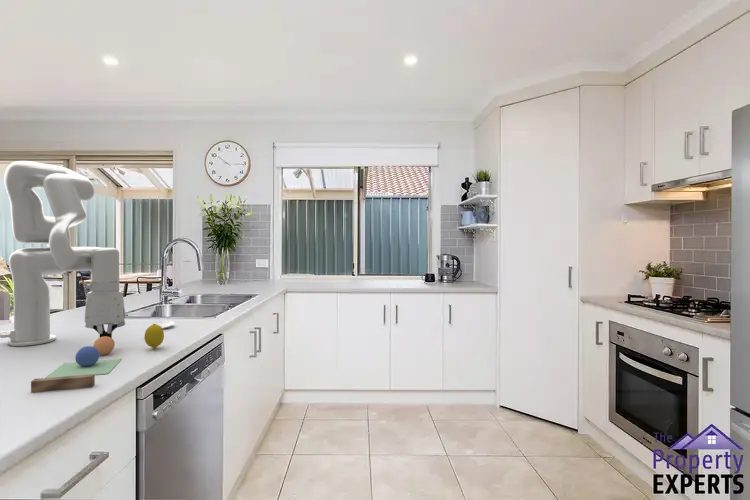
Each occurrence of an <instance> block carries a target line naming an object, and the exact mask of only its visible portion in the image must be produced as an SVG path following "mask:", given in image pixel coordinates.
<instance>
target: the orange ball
mask: <svg viewBox="0 0 750 500" xmlns="http://www.w3.org/2000/svg"><path fill="white" fill-rule="evenodd" d="M115 346H116V343H115V341H114V339H113V337H112V338H111V337H108V336H103V337H100V336H99V337H98V338H97V339H96V340H95V341H94V343H93V346H92V347H95V348H96V349H97V350H98V351H99V355H101V356H102V355H103V356H104V355H109V354H110V353H111V352H113V351H114V349H115Z"/></svg>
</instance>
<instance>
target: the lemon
mask: <svg viewBox="0 0 750 500" xmlns="http://www.w3.org/2000/svg"><path fill="white" fill-rule="evenodd" d="M156 324H157V323H153V324H152V325H150V326H147V328H146V329H145V331H144V343H145V344H146V345H147V346H149V347H151V348H152V349H157V347H159V346H160V345H161V344H162V343H163V341H164V339H165V333H164V329H162V328H163V327H162V326H161V327H160V326H159V325H156Z"/></svg>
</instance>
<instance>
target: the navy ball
mask: <svg viewBox="0 0 750 500" xmlns="http://www.w3.org/2000/svg"><path fill="white" fill-rule="evenodd" d="M74 358H75V362H77V363H78V364H79V365H80V366H83V367H88V366H92V365H94V364H95V363H96V362H97V361H99V360H100V354H99V351H98V350H97V349H96V348H95V347H93V346H92V345H87V346H83V347H81V348H79V350H78V351H77V352H76V354H75V357H74Z"/></svg>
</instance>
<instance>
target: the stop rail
mask: <svg viewBox="0 0 750 500" xmlns="http://www.w3.org/2000/svg"><path fill="white" fill-rule="evenodd" d="M95 377H96V375H95V374H89V375H77V376H64V377H51V378H45V377H42V378H40V377H39V378H33V380H31V381H30V393H41V392H51V391H62V390H63V391H64V390H75V389H76V390H77V389H86V388H93V387H94V386H95V384H96V383H95V379H96V378H95Z"/></svg>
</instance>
